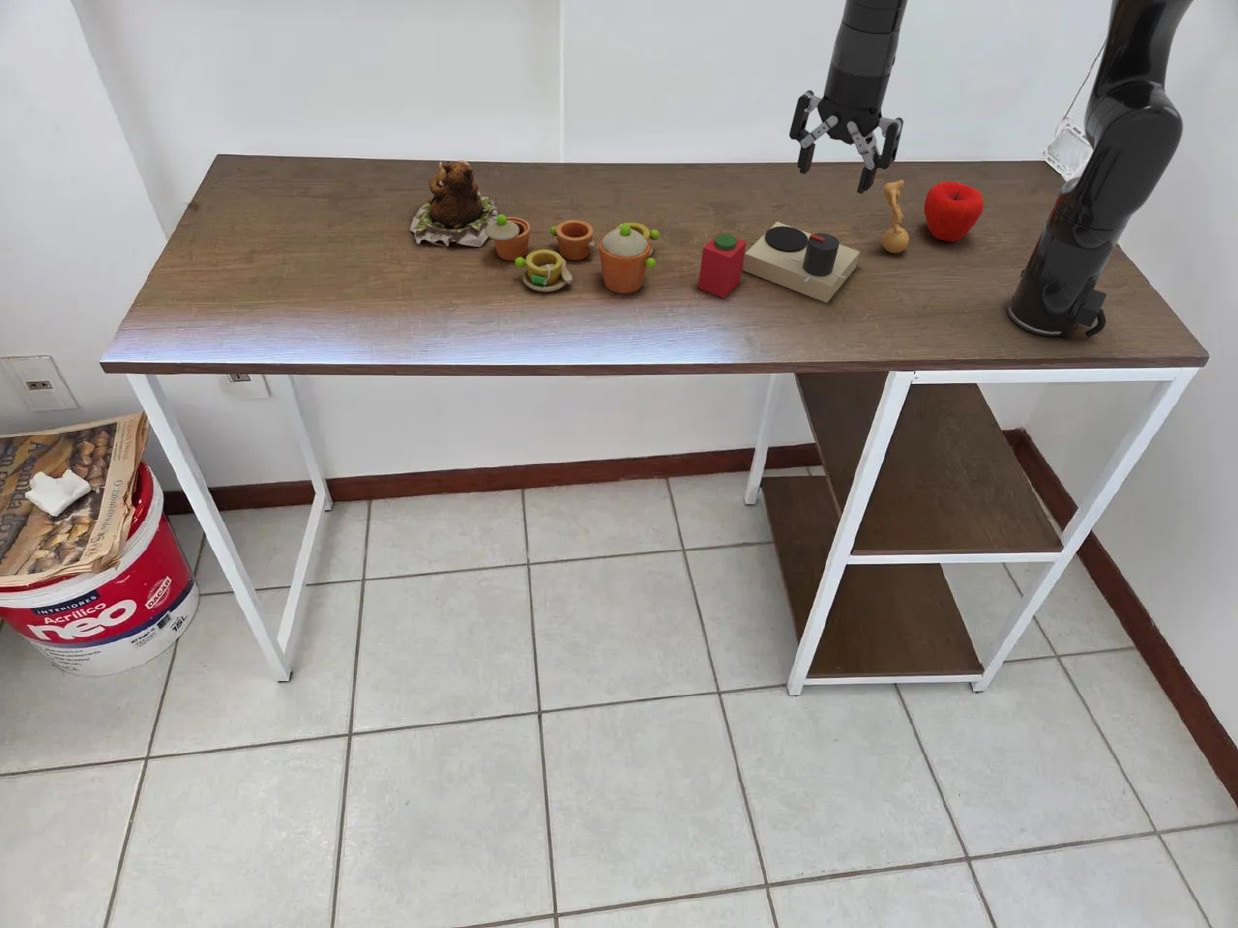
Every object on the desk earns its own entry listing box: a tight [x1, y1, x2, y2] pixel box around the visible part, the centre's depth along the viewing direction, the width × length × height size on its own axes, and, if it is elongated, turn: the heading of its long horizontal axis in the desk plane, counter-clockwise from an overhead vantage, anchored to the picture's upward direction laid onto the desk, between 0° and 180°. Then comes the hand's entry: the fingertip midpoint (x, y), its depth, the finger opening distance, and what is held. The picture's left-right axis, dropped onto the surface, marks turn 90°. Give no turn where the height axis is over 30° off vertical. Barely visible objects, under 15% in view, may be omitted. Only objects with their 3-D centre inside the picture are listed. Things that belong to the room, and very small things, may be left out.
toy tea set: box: [485, 214, 660, 294], centre depth 128 cm, size 26×16×10 cm, turn 93°
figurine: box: [881, 179, 910, 254], centre depth 133 cm, size 8×6×12 cm
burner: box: [764, 226, 808, 252], centre depth 133 cm, size 7×7×1 cm
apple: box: [923, 180, 985, 243], centre depth 139 cm, size 9×9×8 cm
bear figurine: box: [409, 159, 499, 248], centre depth 134 cm, size 14×15×12 cm
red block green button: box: [697, 231, 747, 299], centre depth 127 cm, size 4×5×8 cm
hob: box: [742, 221, 861, 304], centre depth 132 cm, size 15×12×3 cm
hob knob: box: [803, 232, 840, 276], centre depth 127 cm, size 4×4×5 cm
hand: (833, 181), depth 120 cm, fingers open, 8 cm apart
